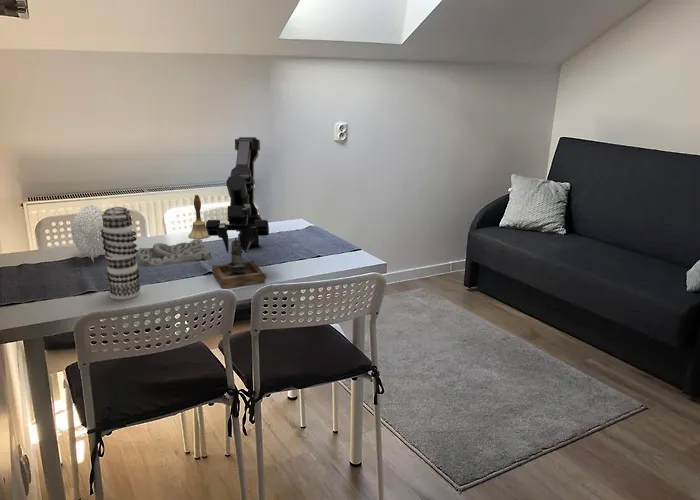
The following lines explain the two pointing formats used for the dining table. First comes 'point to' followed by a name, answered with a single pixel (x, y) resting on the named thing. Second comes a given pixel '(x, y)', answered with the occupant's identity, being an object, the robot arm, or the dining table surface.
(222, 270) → the walnut tray
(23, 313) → the dining table surface
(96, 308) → the dining table surface
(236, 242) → the stone chess piece
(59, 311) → the dining table surface
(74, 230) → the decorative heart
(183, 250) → the wall plaque
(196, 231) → the hand bell
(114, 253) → the decorative candle
